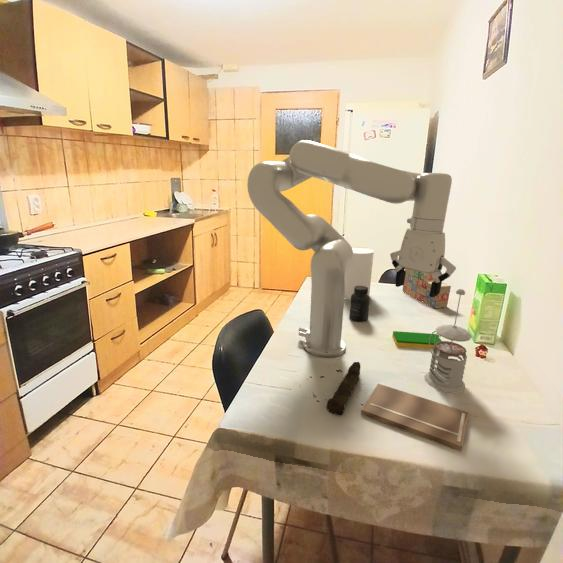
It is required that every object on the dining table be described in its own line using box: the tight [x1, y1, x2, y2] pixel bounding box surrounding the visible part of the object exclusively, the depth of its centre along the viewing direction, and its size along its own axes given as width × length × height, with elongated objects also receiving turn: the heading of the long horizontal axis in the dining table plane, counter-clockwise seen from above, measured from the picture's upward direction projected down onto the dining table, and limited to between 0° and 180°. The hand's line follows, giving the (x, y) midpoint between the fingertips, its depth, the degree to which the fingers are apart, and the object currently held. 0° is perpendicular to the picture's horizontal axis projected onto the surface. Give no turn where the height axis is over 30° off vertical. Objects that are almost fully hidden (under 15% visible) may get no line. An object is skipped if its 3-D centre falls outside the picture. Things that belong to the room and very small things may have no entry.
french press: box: [423, 288, 472, 394], centre depth 88 cm, size 10×12×25 cm
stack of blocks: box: [402, 268, 452, 309], centre depth 149 cm, size 21×6×12 cm, turn 18°
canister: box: [344, 246, 375, 301], centre depth 151 cm, size 14×14×20 cm
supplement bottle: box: [348, 286, 371, 323], centre depth 127 cm, size 7×7×12 cm
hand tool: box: [326, 361, 361, 416], centre depth 85 cm, size 19×4×5 cm, turn 150°
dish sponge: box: [391, 330, 442, 350], centre depth 111 cm, size 7×14×2 cm, turn 83°
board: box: [360, 383, 469, 452], centre depth 77 cm, size 20×12×1 cm, turn 58°
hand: (415, 290), depth 92 cm, fingers open, 9 cm apart
